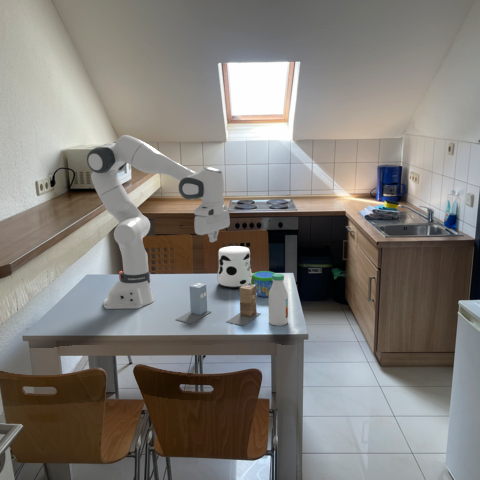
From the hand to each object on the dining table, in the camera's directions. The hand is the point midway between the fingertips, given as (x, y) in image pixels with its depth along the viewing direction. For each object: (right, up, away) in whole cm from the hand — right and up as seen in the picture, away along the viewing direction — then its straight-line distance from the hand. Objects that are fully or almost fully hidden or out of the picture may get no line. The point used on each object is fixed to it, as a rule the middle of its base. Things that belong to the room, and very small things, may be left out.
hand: (213, 241), depth 195 cm
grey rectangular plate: (+13, -32, 0) cm, 34 cm away
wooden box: (+15, -31, +4) cm, 34 cm away
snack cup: (+23, -25, +27) cm, 43 cm away
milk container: (+9, -22, +42) cm, 48 cm away
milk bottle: (+26, -33, -4) cm, 42 cm away
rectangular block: (-6, -31, +7) cm, 32 cm away
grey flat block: (-8, -31, +4) cm, 33 cm away
